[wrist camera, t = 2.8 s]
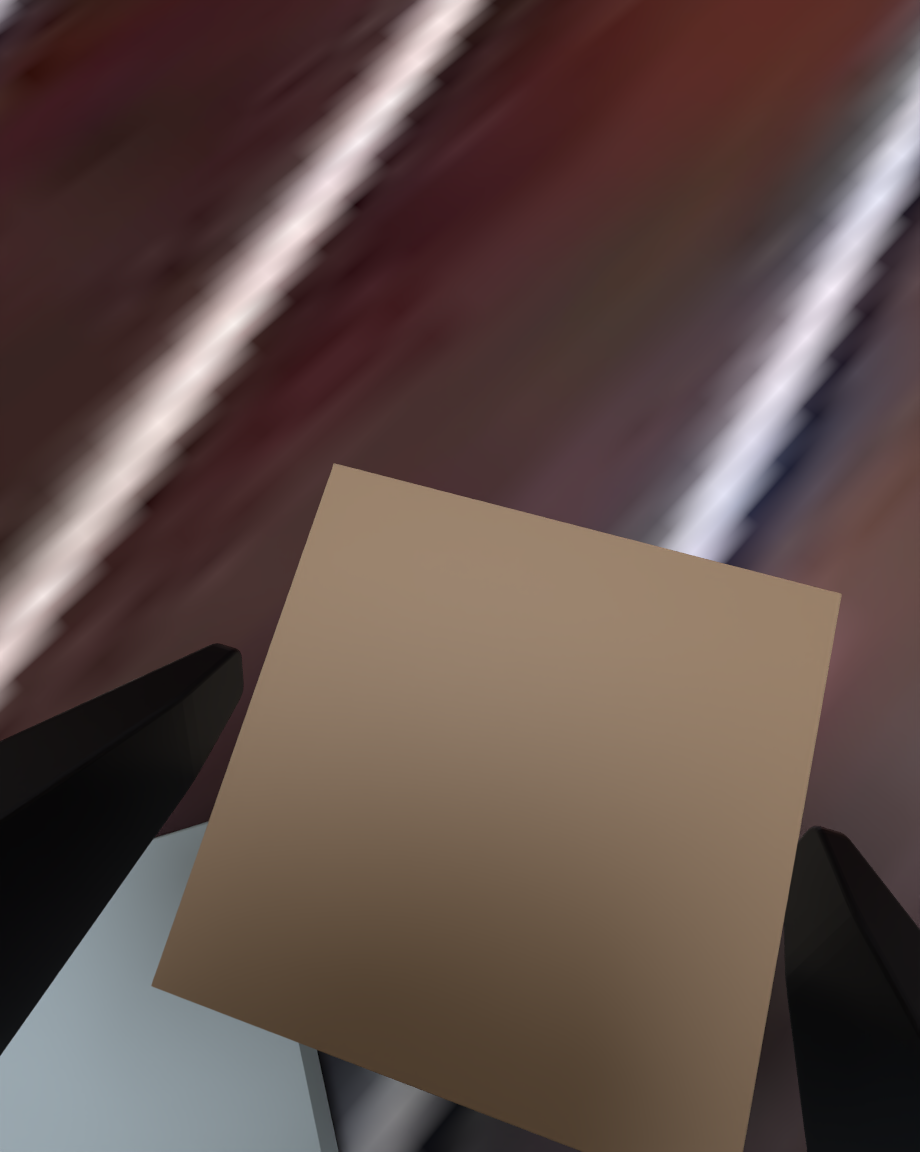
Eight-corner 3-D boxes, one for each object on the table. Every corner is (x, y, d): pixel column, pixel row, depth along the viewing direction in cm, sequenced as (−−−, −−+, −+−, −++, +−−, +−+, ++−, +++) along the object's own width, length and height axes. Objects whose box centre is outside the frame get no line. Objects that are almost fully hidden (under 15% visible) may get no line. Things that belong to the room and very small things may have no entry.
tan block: (568, 850, 16) (733, 1209, 5) (392, 793, 17) (151, 985, 5) (612, 669, 17) (841, 594, 6) (443, 622, 18) (334, 462, 6)
